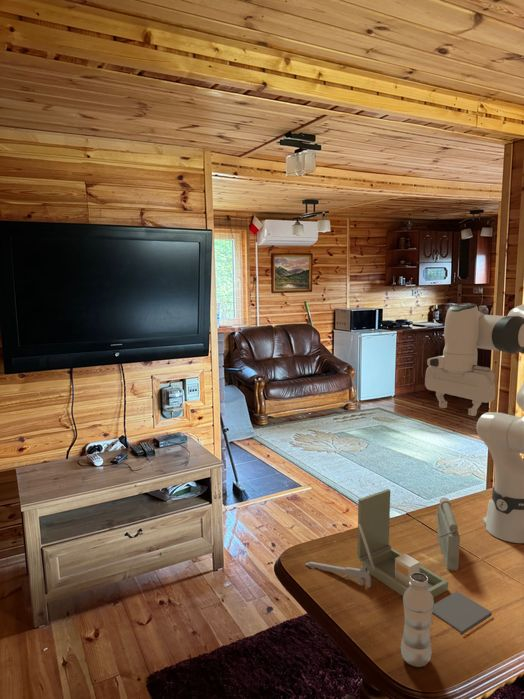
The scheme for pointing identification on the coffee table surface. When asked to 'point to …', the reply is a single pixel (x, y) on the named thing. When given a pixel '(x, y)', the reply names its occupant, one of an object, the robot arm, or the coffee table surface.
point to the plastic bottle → (417, 621)
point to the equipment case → (384, 545)
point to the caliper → (345, 572)
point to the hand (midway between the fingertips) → (457, 411)
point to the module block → (405, 568)
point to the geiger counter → (448, 535)
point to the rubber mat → (460, 612)
